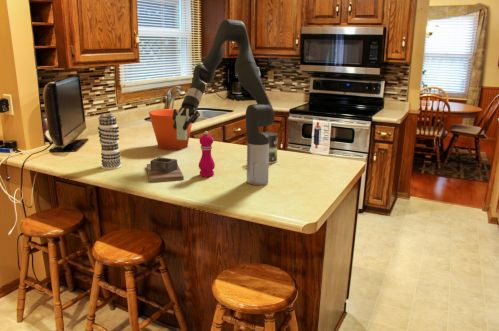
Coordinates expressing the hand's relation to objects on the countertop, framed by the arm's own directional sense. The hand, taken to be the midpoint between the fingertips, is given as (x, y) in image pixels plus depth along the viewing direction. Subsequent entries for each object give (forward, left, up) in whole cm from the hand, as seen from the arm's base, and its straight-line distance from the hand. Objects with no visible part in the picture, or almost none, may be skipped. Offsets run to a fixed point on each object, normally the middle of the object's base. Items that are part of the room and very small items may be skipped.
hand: (179, 128), depth 194 cm
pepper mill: (-15, -10, -19) cm, 26 cm away
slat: (+1, -1, -5) cm, 6 cm away
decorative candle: (+9, +31, -19) cm, 38 cm away
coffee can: (+1, -44, -19) cm, 48 cm away
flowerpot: (+43, -2, -19) cm, 47 cm away
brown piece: (-7, +8, -19) cm, 22 cm away
